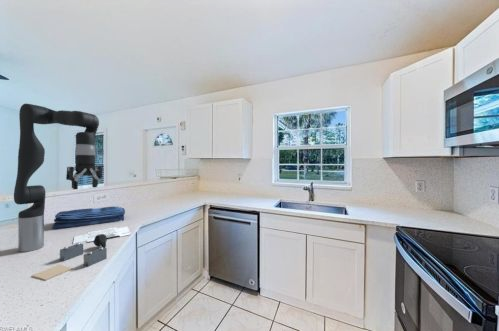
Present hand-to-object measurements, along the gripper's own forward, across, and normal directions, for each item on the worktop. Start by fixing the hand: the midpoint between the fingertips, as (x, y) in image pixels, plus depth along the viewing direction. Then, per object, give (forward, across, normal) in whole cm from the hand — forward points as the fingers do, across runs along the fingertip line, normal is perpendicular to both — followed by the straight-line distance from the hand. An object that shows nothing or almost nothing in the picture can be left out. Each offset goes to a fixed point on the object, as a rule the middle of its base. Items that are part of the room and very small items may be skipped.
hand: (85, 188), depth 97 cm
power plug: (+35, -8, +2) cm, 36 cm away
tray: (+34, -25, -22) cm, 48 cm away
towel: (+34, -43, -60) cm, 81 cm away
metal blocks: (+33, +2, +2) cm, 33 cm away
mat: (+33, +14, +3) cm, 36 cm away
